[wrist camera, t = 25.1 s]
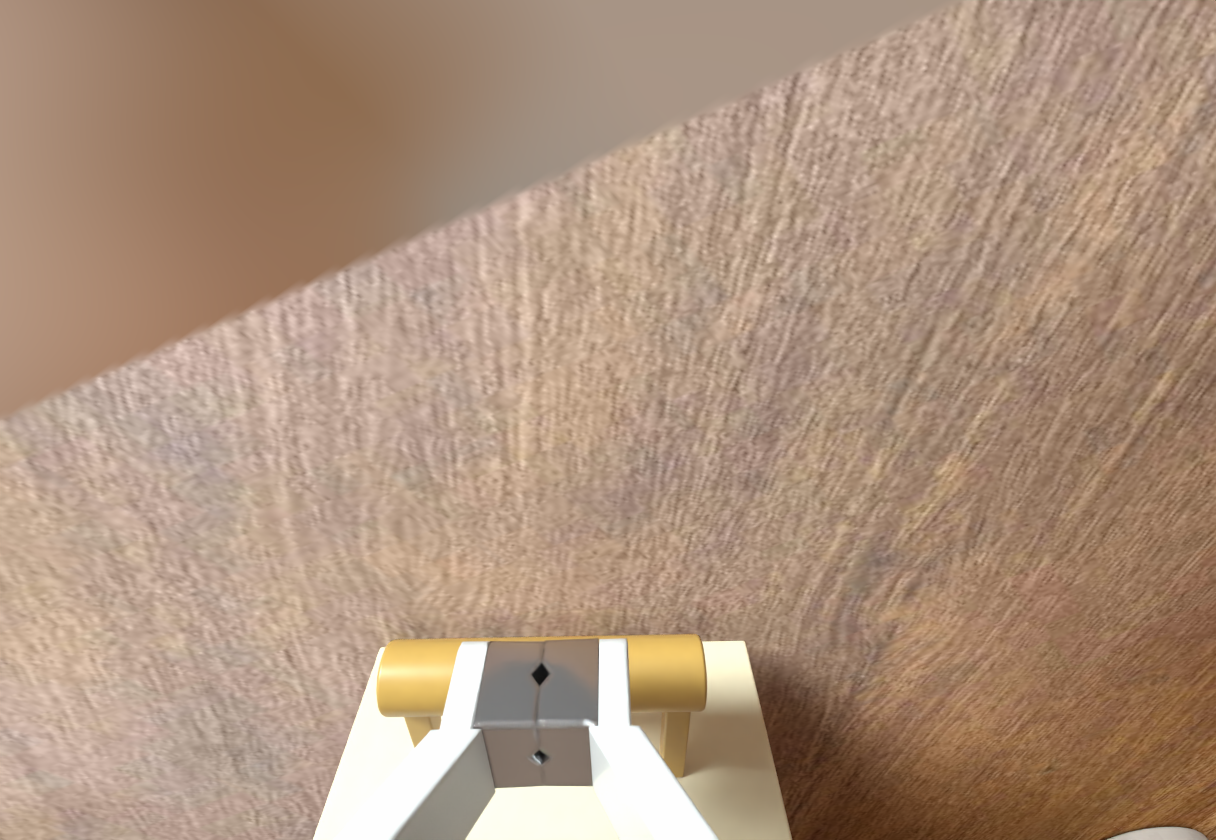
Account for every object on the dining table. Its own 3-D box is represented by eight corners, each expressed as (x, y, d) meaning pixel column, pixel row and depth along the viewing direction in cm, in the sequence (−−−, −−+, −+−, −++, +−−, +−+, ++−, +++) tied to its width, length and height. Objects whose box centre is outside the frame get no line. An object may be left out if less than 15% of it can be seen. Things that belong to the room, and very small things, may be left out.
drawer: (341, 532, 16) (203, 804, 11) (765, 525, 16) (854, 792, 11) (447, 844, 26) (405, 1071, 21) (710, 839, 26) (741, 1064, 21)
